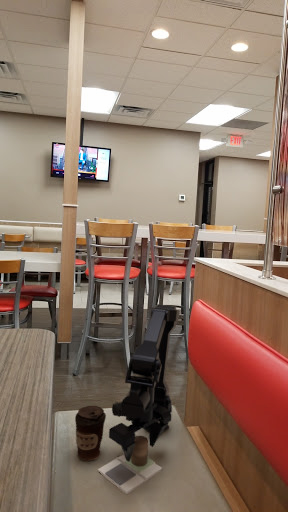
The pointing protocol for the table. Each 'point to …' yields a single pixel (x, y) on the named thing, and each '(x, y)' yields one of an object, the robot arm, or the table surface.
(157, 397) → the robot arm
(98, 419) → the coffee cup
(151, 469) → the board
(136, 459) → the brown tapered cylinder
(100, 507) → the table surface
